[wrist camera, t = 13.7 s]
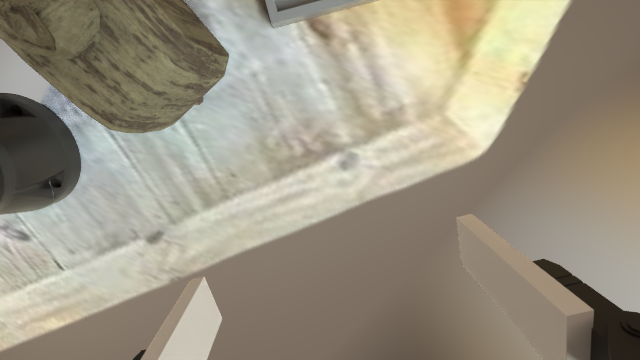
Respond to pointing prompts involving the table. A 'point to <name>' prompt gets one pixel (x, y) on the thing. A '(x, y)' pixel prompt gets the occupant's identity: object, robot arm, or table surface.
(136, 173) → the table surface
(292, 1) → the tray
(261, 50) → the table surface
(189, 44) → the tabletop clock
